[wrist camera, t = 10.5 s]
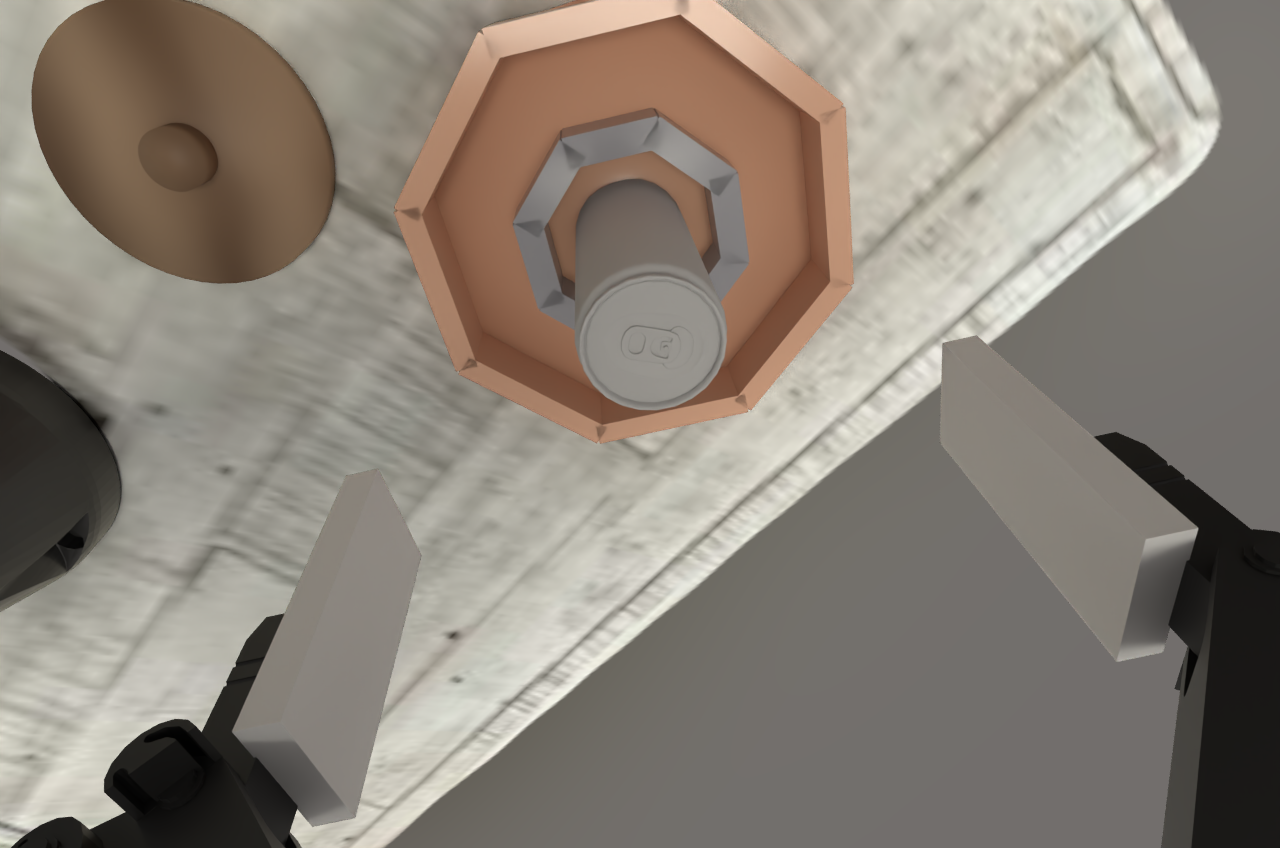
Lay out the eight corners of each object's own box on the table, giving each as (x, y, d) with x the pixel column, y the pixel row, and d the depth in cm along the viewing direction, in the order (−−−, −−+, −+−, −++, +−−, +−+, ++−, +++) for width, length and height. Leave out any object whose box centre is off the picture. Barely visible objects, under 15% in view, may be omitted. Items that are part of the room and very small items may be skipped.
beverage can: (670, 289, 34) (710, 423, 23) (568, 272, 33) (563, 404, 23) (693, 185, 31) (750, 285, 21) (584, 165, 30) (587, 258, 20)
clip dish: (499, 424, 38) (491, 468, 35) (361, 51, 28) (332, 61, 25) (834, 352, 37) (860, 389, 34) (808, -57, 28) (840, -62, 24)
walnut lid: (151, 295, 33) (121, 317, 31) (-9, 32, 28) (-60, 36, 25) (377, 243, 33) (363, 262, 31) (263, -35, 27) (235, -37, 25)
